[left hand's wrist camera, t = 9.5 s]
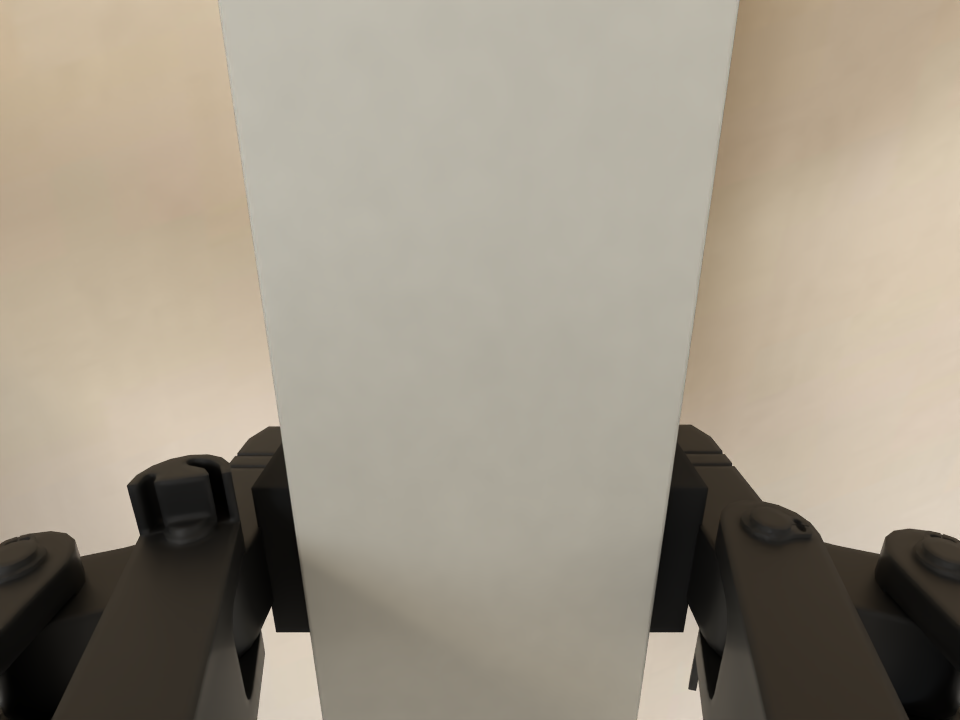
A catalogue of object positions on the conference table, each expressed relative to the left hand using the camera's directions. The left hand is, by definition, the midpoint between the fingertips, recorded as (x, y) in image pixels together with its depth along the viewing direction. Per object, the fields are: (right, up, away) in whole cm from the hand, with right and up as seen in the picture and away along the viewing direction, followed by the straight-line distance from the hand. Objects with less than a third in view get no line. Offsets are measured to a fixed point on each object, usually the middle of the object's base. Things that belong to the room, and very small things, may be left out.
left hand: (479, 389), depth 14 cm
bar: (0, +24, -8) cm, 25 cm away
